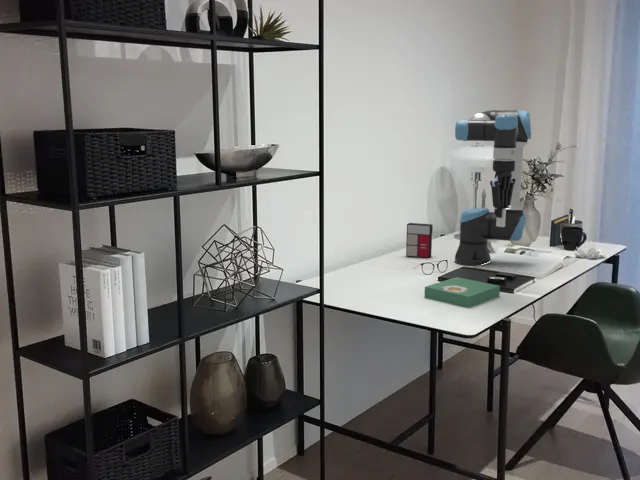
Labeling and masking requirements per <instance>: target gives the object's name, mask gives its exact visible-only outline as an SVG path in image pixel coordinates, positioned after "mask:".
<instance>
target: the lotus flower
mask: <svg viewBox="0 0 640 480" xmlns="http://www.w3.org/2000/svg"><path fill="white" fill-rule="evenodd" d="M602 253H603V247H600V248H597V246H596V244H595V243H594V242H593V243H592V244H591V245H589V246H585V247H584V249H583V250H582V249H580V248H579V247H578V246H576V249H574V256H575V257H577V258H581V259H587V260H593V259H594V260H596V259H600V258H602V257H604V256H606V255H607V254H606V253H605V254H603V255H602Z"/></svg>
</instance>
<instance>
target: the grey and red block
mask: <svg viewBox="0 0 640 480" xmlns="http://www.w3.org/2000/svg"><path fill="white" fill-rule="evenodd" d="M405 244H406V247H405V248H406V250H405V256H406V257H408V258H409V257H410V258H420V259H421V258H422V259H430V258H432V250H433V249H432V248H433V247H432V245H433V224H432V223H418V222H408V223H407V224H406V242H405Z"/></svg>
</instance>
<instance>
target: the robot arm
mask: <svg viewBox="0 0 640 480" xmlns="http://www.w3.org/2000/svg"><path fill="white" fill-rule="evenodd" d="M454 127H455V128H454V136H455V140H456V141H461V142H462V141H463V142H466V141H469V142H471V141H472V142H477V141H479V142H481V141H482V142H493V153H492V154H493V155H492V159H493V160H492V171H493V172H495V173H494V179H493V180H490V182H489V184H490V186H491V199H492V207H493V208H494V211H490V209H489V208H488V207H485V208H481V207H477V208H469V209H465V210H463V211H462V212H461V214H460V221H459V223H460V227H459V229H460V231H459V244H458V248H457V250H456V252H455V256H454V262H455V263H456V264H459V265H462V266H472V267H477V266H476V265H481V264H484V263H487V262H489V261H490V260H491V259H492V258H491V253H490V250H489V249H488V247H487V240H488V239H490V241H491V240H494V241H508V242H518V241H521V240H522V237H523V233H524V228H525V224H526V221H527V220H526V218H527V214H526V213H524V208H523V207H522V206H521V205H520V203H521V187H522V170H523V157H524V155H523V154H524V147H525V146H526V145H528V140H531V139H532V127H531V116H530V112H529V111H527V110H522V109H520V110H519V109H515V110H513V109H510V110H507V109H504V110H503V109H502V110H501V109H500V110H499V109H498V110H495V109H492V110H486V111H482V112H479V113H476V114H473V115H472V116H471V117H470V118H469V119H458V120H456V123H455V126H454Z"/></svg>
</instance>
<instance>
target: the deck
mask: <svg viewBox="0 0 640 480" xmlns="http://www.w3.org/2000/svg"><path fill="white" fill-rule="evenodd" d="M453 289H457V290H458V291H451V290H453ZM500 290H501V285H498V284H492V283H488V282H483V281H478V280H473V279H468V278H464V277H463V278H462V277H459V276H456V277H453V278H449V279H446V280H442V281H438V282H437V283H433V284H430V285H426V286H424V298H427V299H431V300H434V301H438V302H443V303H447V304H451V305H455V306H460V307H463V308H472V307H474V306H477V305H480V304H483V303H485V302H487V301H490V300H493V299H495V298H496V299H497V298H498V297H500V294H501V293H500V292H501V291H500Z"/></svg>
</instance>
